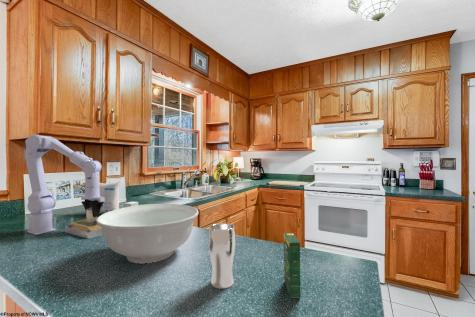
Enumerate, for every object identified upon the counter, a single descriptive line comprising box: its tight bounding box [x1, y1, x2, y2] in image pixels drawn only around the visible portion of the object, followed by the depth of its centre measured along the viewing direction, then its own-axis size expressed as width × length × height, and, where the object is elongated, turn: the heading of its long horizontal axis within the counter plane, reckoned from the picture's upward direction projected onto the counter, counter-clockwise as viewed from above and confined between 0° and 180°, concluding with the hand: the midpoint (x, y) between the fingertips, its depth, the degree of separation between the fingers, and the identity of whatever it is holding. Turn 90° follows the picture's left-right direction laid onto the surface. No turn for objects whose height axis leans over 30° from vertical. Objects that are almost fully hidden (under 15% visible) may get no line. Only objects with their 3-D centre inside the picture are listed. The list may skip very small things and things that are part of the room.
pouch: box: [99, 181, 121, 213], centre depth 142 cm, size 8×19×20 cm, turn 69°
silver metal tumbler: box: [208, 222, 236, 290], centre depth 63 cm, size 7×7×15 cm
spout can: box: [85, 208, 97, 222], centre depth 110 cm, size 4×4×7 cm
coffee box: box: [283, 232, 301, 299], centre depth 60 cm, size 8×3×13 cm, turn 178°
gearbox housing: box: [64, 216, 103, 239], centre depth 110 cm, size 18×15×4 cm
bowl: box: [96, 203, 199, 265], centre depth 83 cm, size 32×32×15 cm
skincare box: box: [122, 201, 139, 208], centre depth 116 cm, size 6×4×12 cm
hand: (92, 216), depth 111 cm, fingers closed on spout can, 4 cm apart
